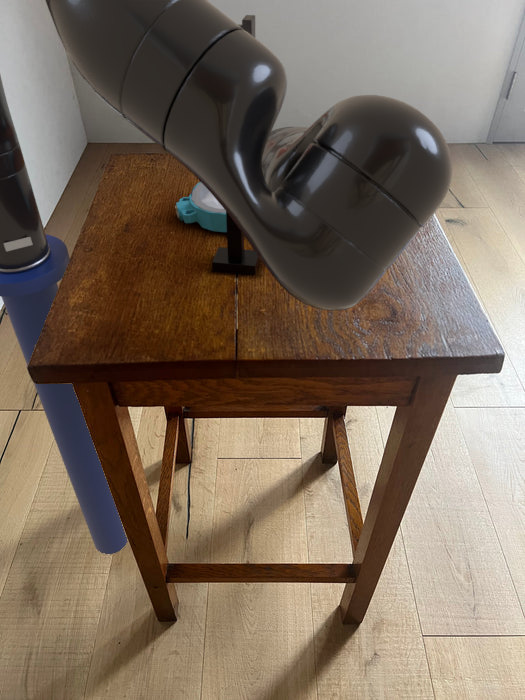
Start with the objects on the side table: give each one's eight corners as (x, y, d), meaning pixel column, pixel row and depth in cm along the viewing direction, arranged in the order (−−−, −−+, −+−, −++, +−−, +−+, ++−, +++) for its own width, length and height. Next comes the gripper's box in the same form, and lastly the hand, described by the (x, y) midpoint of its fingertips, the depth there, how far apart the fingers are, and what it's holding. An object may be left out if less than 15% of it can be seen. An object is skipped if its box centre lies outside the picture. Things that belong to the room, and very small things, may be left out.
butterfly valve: (191, 279, 81) (389, 236, 84) (181, 237, 76) (391, 193, 79) (173, 196, 101) (333, 163, 103) (164, 159, 96) (332, 126, 99)
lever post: (212, 271, 78) (196, 19, 58) (218, 256, 81) (205, 11, 61) (255, 275, 77) (254, 22, 57) (259, 259, 80) (260, 13, 60)
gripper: (397, 155, 44) (347, 147, 59) (220, 100, 41) (214, 107, 56) (366, 247, 46) (325, 217, 61) (196, 202, 44) (197, 182, 59)
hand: (272, 165), depth 59 cm, fingers open, 8 cm apart
